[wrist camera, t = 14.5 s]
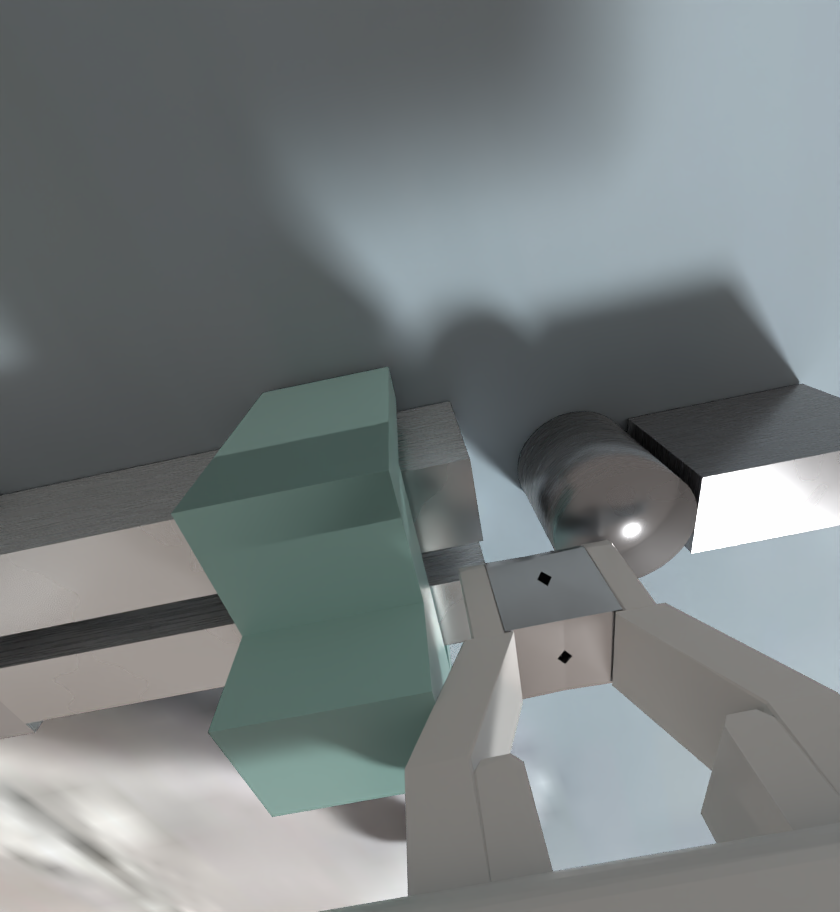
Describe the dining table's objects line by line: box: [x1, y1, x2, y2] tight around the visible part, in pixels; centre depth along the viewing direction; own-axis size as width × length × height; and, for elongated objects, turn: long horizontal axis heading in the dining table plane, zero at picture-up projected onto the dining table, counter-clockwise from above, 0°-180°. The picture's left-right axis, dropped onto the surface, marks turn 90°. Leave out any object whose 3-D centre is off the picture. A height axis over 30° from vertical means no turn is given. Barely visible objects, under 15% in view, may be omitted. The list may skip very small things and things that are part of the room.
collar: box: [171, 367, 452, 817], centre depth 9 cm, size 3×7×6 cm, turn 10°
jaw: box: [0, 401, 483, 637], centre depth 10 cm, size 16×3×3 cm, turn 101°
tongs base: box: [0, 384, 840, 739], centre depth 11 cm, size 25×4×3 cm, turn 101°
